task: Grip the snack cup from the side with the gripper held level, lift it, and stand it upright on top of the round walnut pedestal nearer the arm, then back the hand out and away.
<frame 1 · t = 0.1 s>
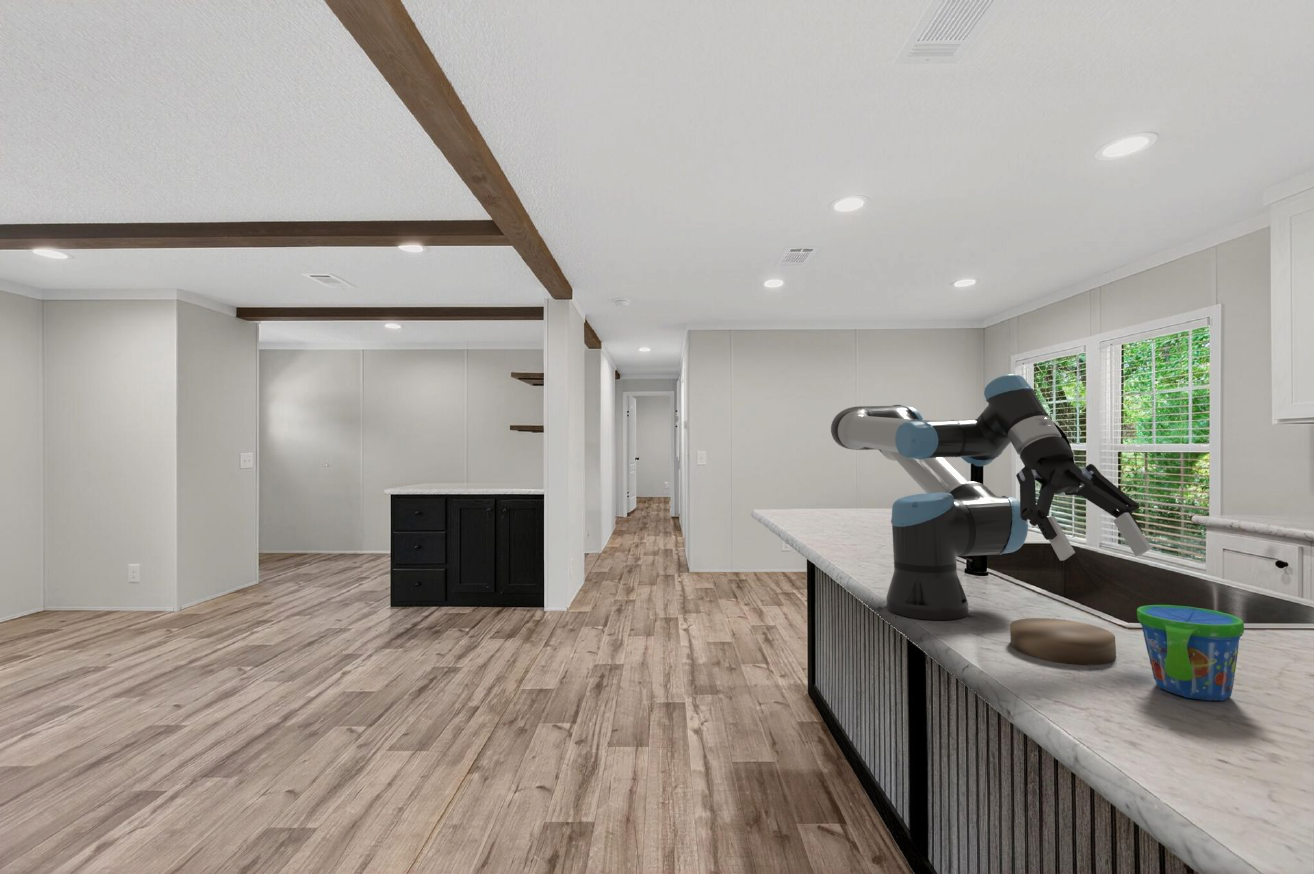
hand: (1106, 554, 94), 15 cm above the countertop, tool tilted 35°, fingers open, 13 cm apart
snack cup: (1192, 693, 78), on the countertop
walnut pedestal: (1061, 649, 96), on the countertop
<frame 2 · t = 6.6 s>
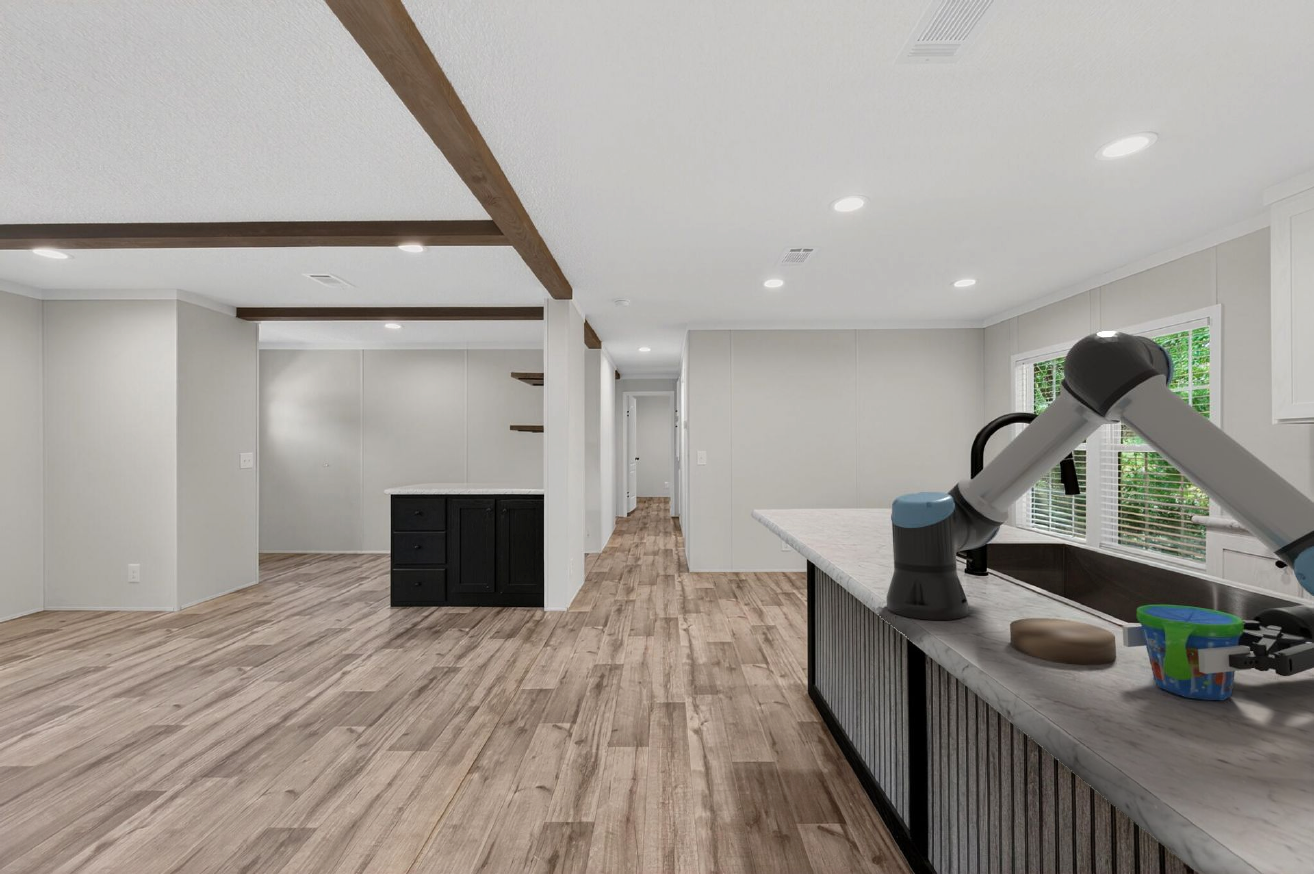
hand: (1161, 648, 78), 6 cm above the countertop, tool horizontal, fingers closed on snack cup, 9 cm apart
snack cup: (1192, 692, 78), on the countertop, touching gripper
when the fingers open (10 cm above the countertop, at t = 11.4 s): snack cup drops 1 cm, point 3 cm above the countertop.
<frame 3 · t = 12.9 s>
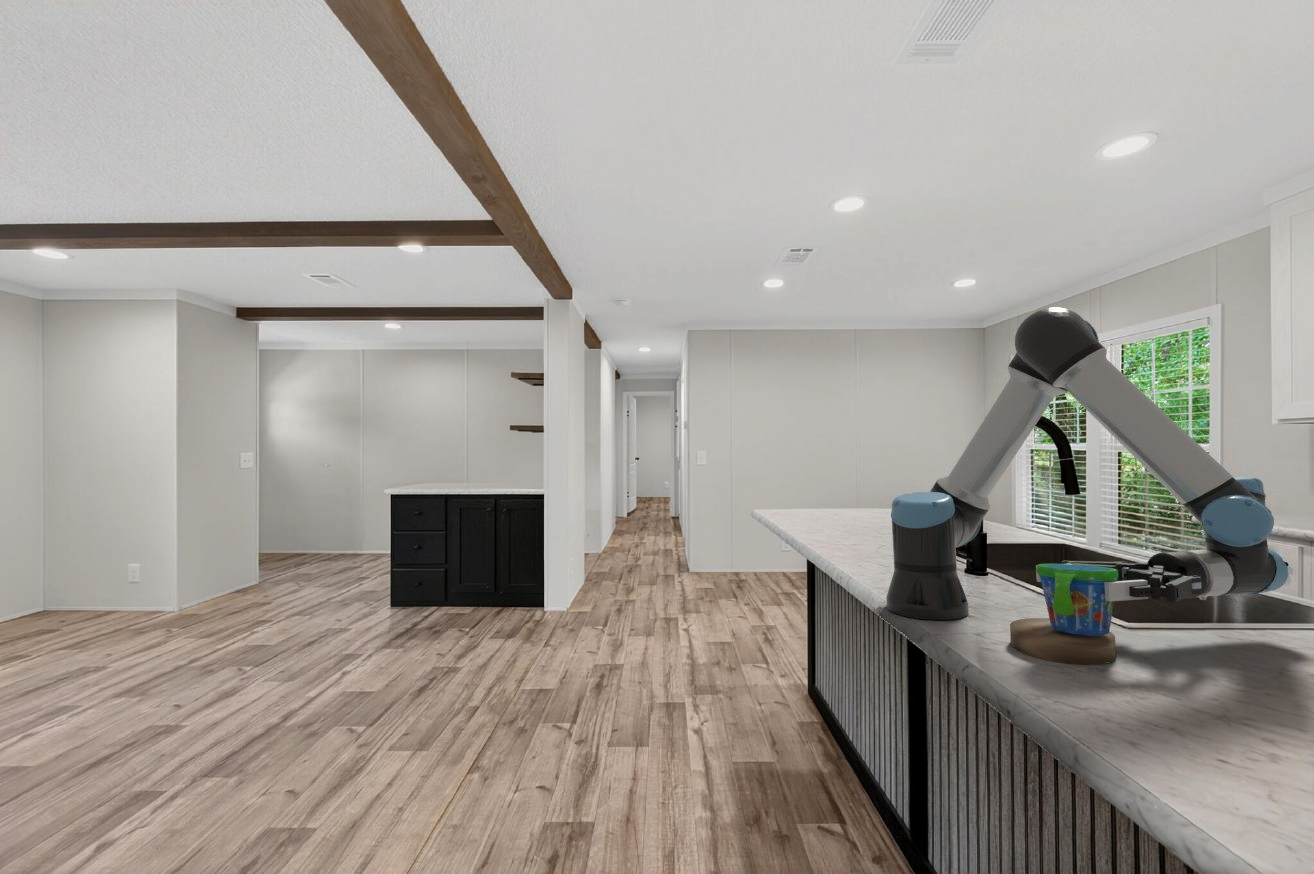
hand: (1069, 582, 96), 11 cm above the countertop, tool horizontal, fingers open, 13 cm apart
snack cup: (1080, 633, 93), point 3 cm above the countertop, touching gripper
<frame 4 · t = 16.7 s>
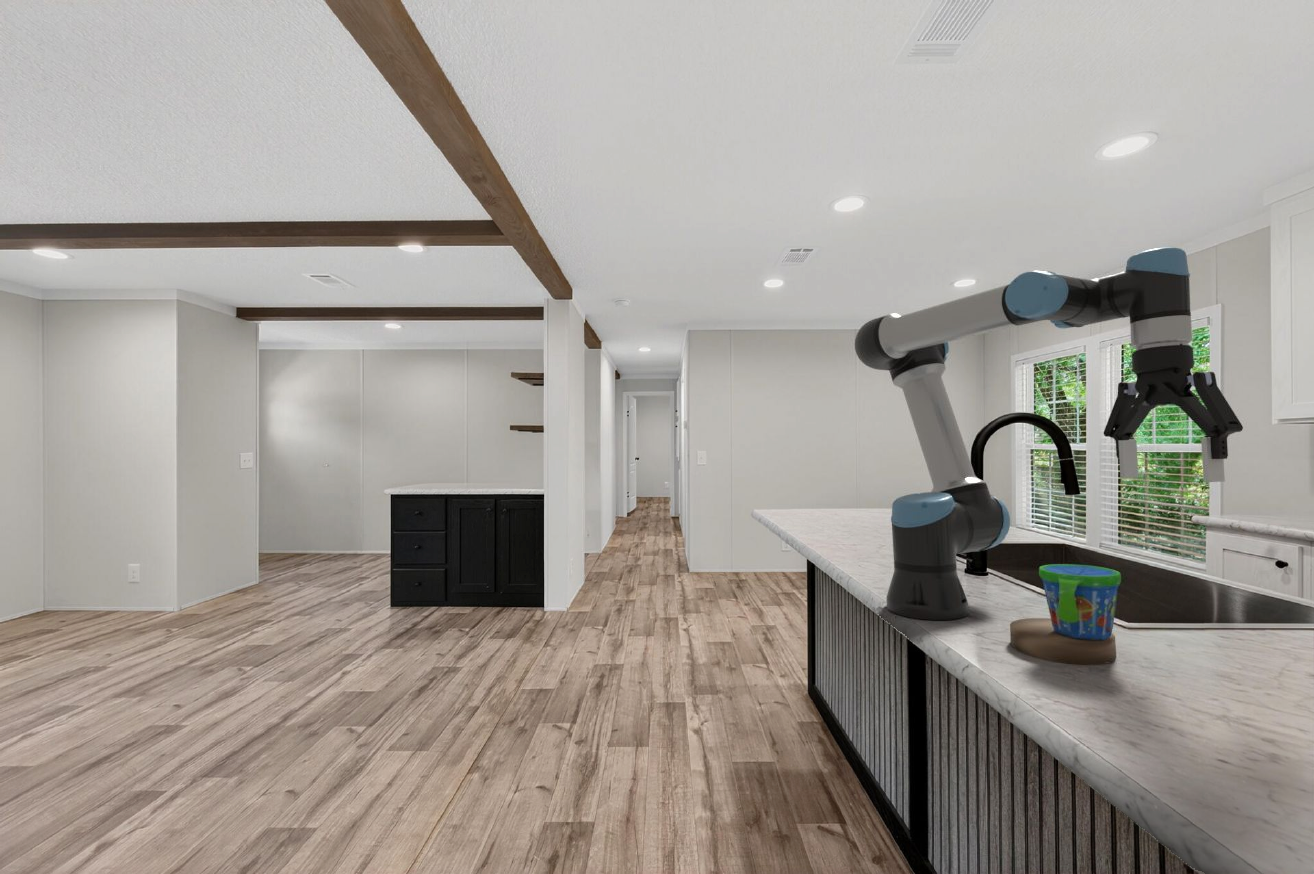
hand: (1168, 480, 95), 27 cm above the countertop, tool pointing down, fingers open, 13 cm apart
snack cup: (1081, 635, 93), point 3 cm above the countertop, touching walnut pedestal
at the end: snack cup inside the target area on the walnut pedestal (3.0 cm from its centre), point 2.8 cm above the walnut pedestal's base; snack cup tilted 0°; the gripper is holding nothing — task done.
